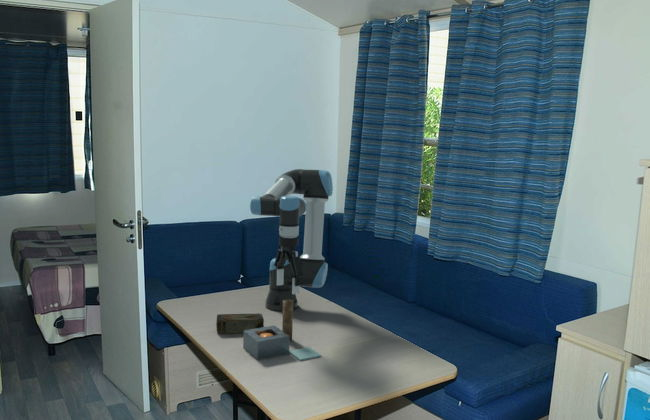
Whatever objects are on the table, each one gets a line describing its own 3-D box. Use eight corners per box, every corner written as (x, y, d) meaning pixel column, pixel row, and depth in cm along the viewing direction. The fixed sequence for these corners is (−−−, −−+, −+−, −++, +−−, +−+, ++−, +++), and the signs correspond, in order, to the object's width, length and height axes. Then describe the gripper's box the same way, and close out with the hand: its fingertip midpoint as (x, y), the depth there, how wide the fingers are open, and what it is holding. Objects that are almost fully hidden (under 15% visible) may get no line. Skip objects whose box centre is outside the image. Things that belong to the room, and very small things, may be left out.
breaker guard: (274, 342, 234) (274, 325, 233) (289, 354, 223) (289, 336, 222) (243, 348, 228) (243, 330, 227) (257, 360, 217) (257, 341, 216)
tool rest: (309, 348, 230) (309, 347, 229) (321, 356, 222) (321, 355, 222) (288, 352, 225) (288, 350, 225) (300, 361, 217) (300, 359, 217)
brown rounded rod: (289, 337, 241) (290, 298, 238) (293, 340, 237) (294, 301, 235) (280, 338, 239) (281, 300, 236) (284, 342, 235) (285, 302, 233)
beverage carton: (264, 333, 246) (264, 317, 245) (216, 335, 241) (216, 319, 240) (262, 326, 253) (262, 311, 252) (215, 328, 249) (216, 313, 248)
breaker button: (269, 344, 229) (269, 332, 228) (275, 349, 225) (275, 336, 224) (257, 346, 226) (257, 334, 226) (262, 351, 222) (263, 338, 221)
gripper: (266, 231, 241) (265, 282, 244) (295, 242, 219) (293, 298, 222) (283, 230, 244) (282, 280, 247) (313, 241, 223) (311, 296, 226)
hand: (287, 289), depth 235 cm, fingers open, 13 cm apart
